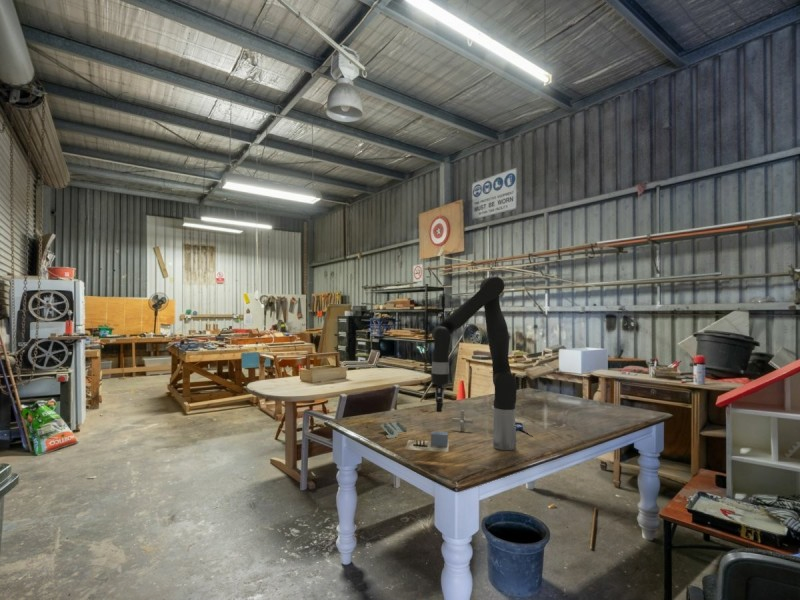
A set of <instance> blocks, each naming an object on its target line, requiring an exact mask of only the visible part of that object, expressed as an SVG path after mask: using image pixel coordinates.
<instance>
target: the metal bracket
mask: <svg viewBox="0 0 800 600" xmlns="http://www.w3.org/2000/svg"><path fill="white" fill-rule="evenodd" d="M380 427H381V428H382V429H383V430H384V431H385V432H386V433H387V434H386V435H385V437H386V439H388V438H393V439H396V438H397V437H398V435H399V434H400V433H402V432H406V433H407V431H409V430H408V429H407V427H405V425H404V424H402V423H401V422H400V421H399V420H397V421H396V422H391V420H389V421H388V423H387V422H383V424H380ZM395 437H396V438H395Z"/></svg>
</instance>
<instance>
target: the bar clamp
mask: <svg viewBox="0 0 800 600" xmlns="http://www.w3.org/2000/svg"><path fill="white" fill-rule="evenodd" d="M515 427H516V430H521V431H520V432H523V433H524V432H525V433H524V434H526V432H527V431H526V430H524V429H523V428H524V426H523V423H522V422H517V421H515Z"/></svg>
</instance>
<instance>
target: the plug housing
mask: <svg viewBox="0 0 800 600" xmlns="http://www.w3.org/2000/svg"><path fill="white" fill-rule="evenodd" d="M448 436H449V433H448V432H447V431H433V430H432V431H431V433H430V441H431V446H438V447H447V445H448V442H449V441H448V440H449V437H448Z"/></svg>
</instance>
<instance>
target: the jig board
mask: <svg viewBox="0 0 800 600" xmlns="http://www.w3.org/2000/svg"><path fill="white" fill-rule="evenodd" d="M406 443H407V444H406V446H405V447H404V450H408V451H421V452H422V451H424V452H426V451H427V452H437V453H439V452H440V453H449V447H450V446H449V445H450V442H449V441H448V445H447V447H438V446H431V440H426V439H423V440H422V439H413V440H412V439H408V440H407V442H406Z"/></svg>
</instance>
